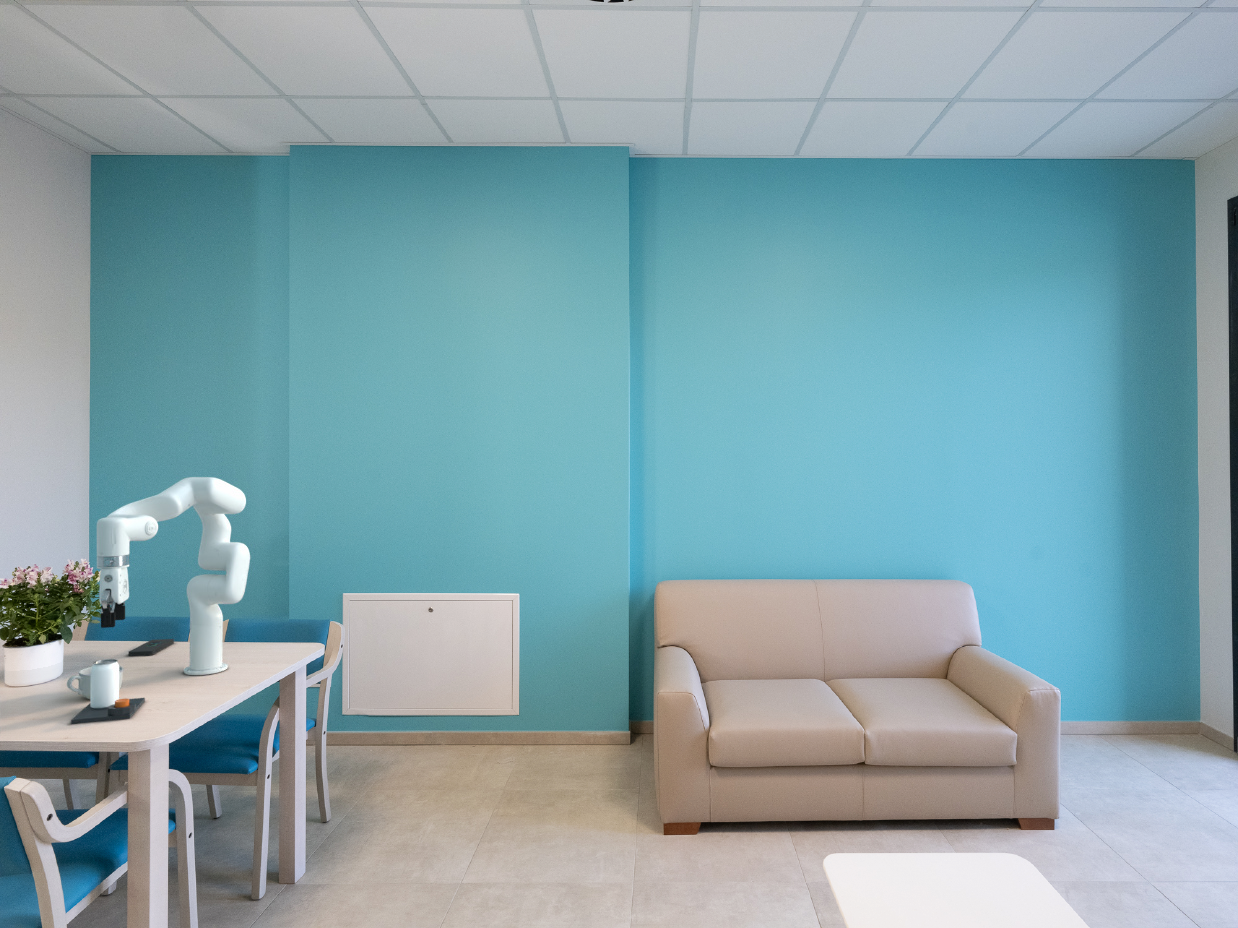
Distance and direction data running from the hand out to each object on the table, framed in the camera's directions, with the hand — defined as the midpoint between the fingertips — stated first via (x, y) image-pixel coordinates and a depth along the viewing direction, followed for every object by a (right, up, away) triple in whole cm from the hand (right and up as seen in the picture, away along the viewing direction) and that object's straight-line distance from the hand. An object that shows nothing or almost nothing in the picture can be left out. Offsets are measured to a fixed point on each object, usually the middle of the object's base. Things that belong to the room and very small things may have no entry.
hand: (113, 623), depth 206 cm
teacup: (-11, -24, +9) cm, 28 cm away
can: (-1, -22, -2) cm, 22 cm away
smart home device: (-32, -24, +68) cm, 79 cm away
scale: (+2, -23, -5) cm, 24 cm away
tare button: (+8, -21, -8) cm, 23 cm away
